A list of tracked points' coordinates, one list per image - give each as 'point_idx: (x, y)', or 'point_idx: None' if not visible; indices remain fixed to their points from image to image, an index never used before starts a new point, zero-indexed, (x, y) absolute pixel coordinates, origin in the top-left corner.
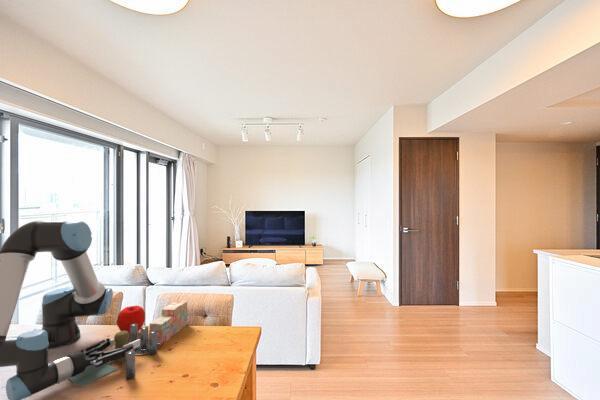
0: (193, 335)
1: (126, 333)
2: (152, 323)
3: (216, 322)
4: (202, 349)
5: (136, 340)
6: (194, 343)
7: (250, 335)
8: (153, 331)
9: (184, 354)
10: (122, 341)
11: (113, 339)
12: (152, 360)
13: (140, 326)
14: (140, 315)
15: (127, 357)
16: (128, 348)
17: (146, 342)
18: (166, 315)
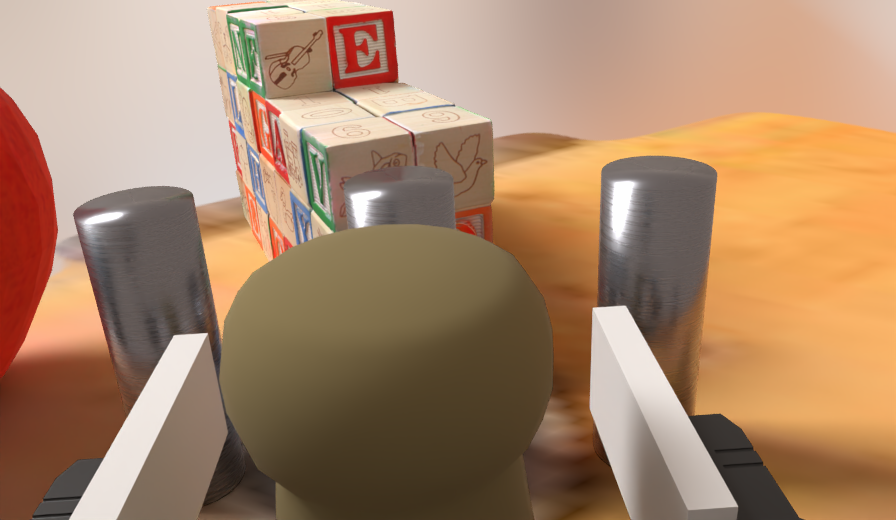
0: (563, 221)
1: (499, 249)
2: (365, 139)
3: (503, 146)
4: (878, 254)
5: (619, 335)
6: (714, 249)
7: (849, 133)
8: (631, 167)
9: (890, 325)
10: (532, 436)
11: (121, 508)
12: (829, 506)
13: (48, 273)
14: (20, 129)
15: None
16: (777, 502)
17: None
18: (321, 87)
